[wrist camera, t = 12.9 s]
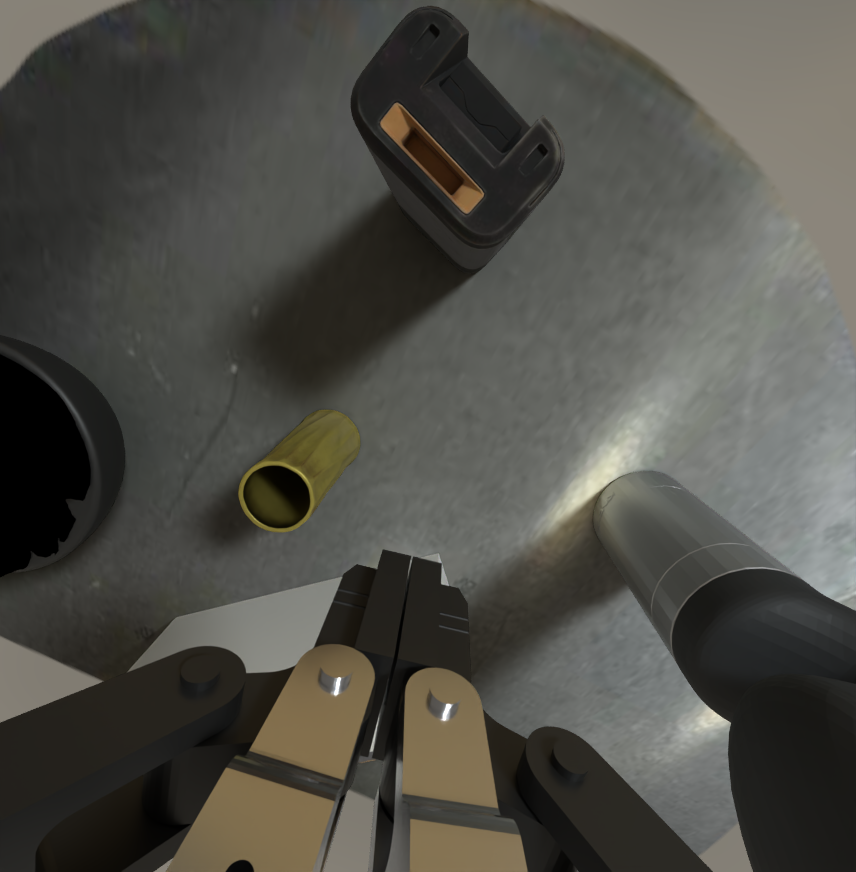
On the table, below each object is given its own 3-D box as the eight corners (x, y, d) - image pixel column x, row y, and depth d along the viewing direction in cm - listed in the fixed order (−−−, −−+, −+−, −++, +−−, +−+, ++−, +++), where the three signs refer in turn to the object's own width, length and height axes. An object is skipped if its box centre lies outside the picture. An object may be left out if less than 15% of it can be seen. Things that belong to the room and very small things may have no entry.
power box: (175, 617, 52) (78, 726, 38) (438, 553, 48) (432, 649, 35) (206, 678, 54) (123, 802, 40) (460, 621, 50) (463, 736, 37)
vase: (372, 429, 45) (336, 483, 31) (342, 481, 47) (296, 554, 33) (315, 397, 44) (253, 438, 31) (287, 450, 46) (217, 512, 32)
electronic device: (520, 227, 40) (583, 154, 20) (470, 282, 41) (485, 260, 22) (440, 143, 38) (427, -22, 19) (391, 202, 40) (332, 104, 20)
